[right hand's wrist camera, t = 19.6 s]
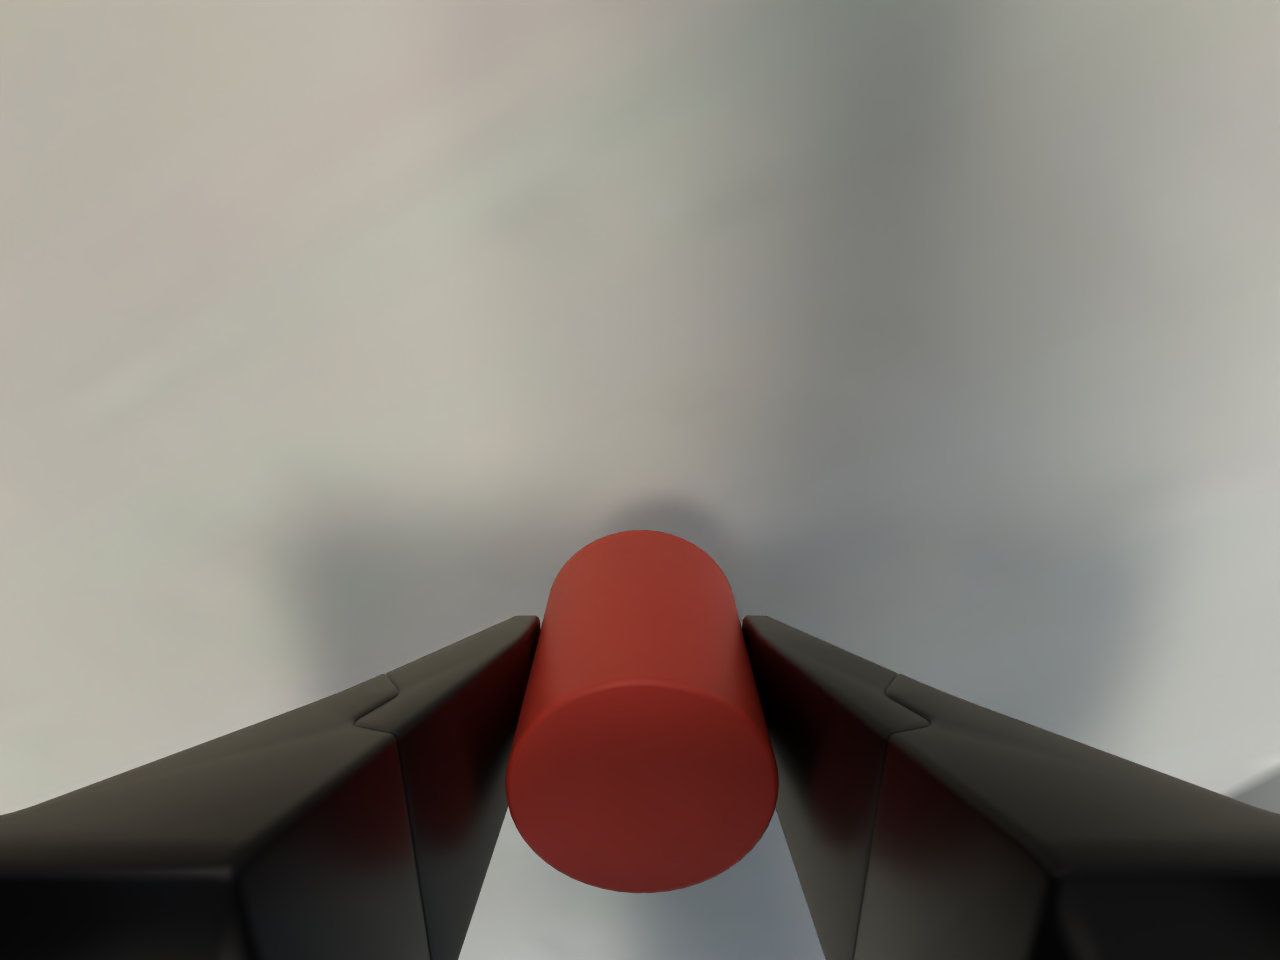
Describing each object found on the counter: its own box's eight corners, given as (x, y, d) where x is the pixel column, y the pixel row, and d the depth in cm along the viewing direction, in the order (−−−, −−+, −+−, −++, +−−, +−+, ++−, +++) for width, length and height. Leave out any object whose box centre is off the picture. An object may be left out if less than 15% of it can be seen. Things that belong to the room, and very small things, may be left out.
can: (772, 589, 12) (837, 763, 8) (666, 718, 13) (679, 931, 9) (611, 492, 12) (597, 632, 8) (513, 637, 13) (455, 826, 9)
